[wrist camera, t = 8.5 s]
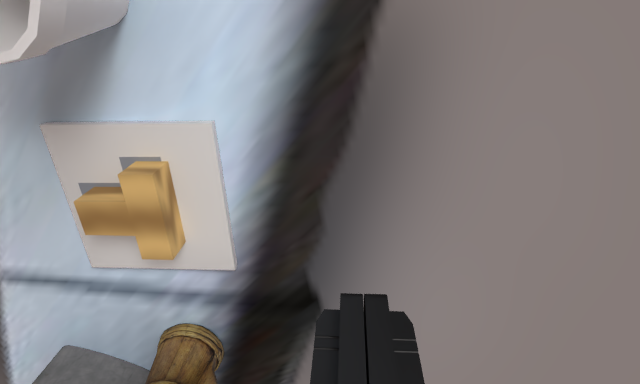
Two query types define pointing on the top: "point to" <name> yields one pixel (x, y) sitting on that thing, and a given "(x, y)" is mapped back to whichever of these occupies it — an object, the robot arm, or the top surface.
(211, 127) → the t board
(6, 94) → the top surface
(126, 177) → the t block
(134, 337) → the top surface
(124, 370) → the hip flask
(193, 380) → the wooden mug
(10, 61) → the foam cup
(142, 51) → the top surface
